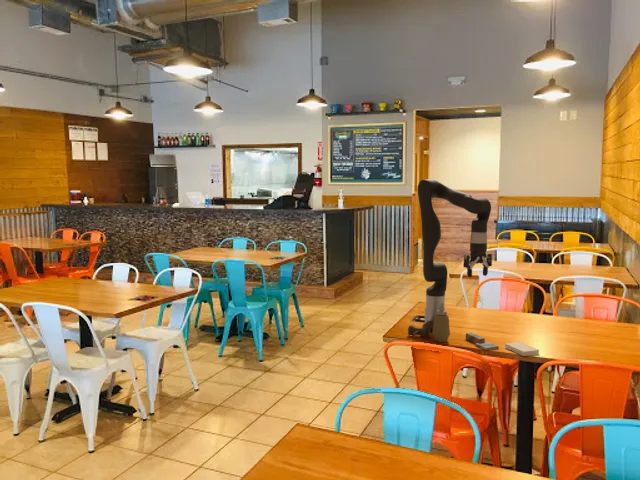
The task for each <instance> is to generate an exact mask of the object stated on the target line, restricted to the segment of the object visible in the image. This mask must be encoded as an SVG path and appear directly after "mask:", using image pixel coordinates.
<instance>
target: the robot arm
mask: <svg viewBox="0 0 640 480" xmlns="http://www.w3.org/2000/svg"><path fill="white" fill-rule="evenodd" d="M417 196H418V203H419V209H420V218H421V220H420V221H421V234H422V235H421V236H422V246H423V248H422V249H423V251H422V253H423V257H422V265H423V266H422V273H423V278H424V280H425V281H426V282H427V283H432V282H433V284H432V285H431V286H429V287H427V288H426V289H425V290H426V291H425V293H426V294H425V308H424V324H425V323H426V322H428V321H431V322H433V323H434V317H435V315H436V314H437V310H439V308H440V304H441V303H443V304H444V308H445V307H446V306H445V304H446V303H445V302H446V291H447V285H448V284H447V283H448V268H447V265H446V264H445V263H444V262H434V254H435V251H436V249H437V247H438V245H439V242H440V240H441V237H442V231H441V230H442V229H441V223H440V219H439V217H438V215H437V214H436V212H435V209H434V208H433V207H434V206H433V201H432V199H434V198H435V199H441V200H446V201H448V202H449V203H450V204H451V205H453V206H455V207H458V208H461V209H464V210H465V211H467V212H468V213H471V214H474V215H476V218H474V219H473V220H471V227H470V228H471V229H470V231H471V232H470V236H469V237H470V240H469V243H470V244H469V252H470V254H464V257H463V267H464V268H465V269H467V270H466V275H467V277H468V278H472V277H473V267H474V266H475V265H478V264H481V265H482V275H483V276H485V277H486V276H487V275H488V274H489V268H490V267H492V266H493V257H492V256H493V255H492V253H489V252H488V251H487V249H488V222H489V219H490V214H491V212H492V205H491V201H490V200H489V199H488V198H475V197H473V196H472V195H471V194H469V193H465V192H463V191H459V190H456V189H453V188H451V187H449V186H447V185H445V184H443V183H442V182H439V181H438V180H436V179H426V178H425V179H421V180H419V182H418V184H417Z"/></svg>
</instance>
